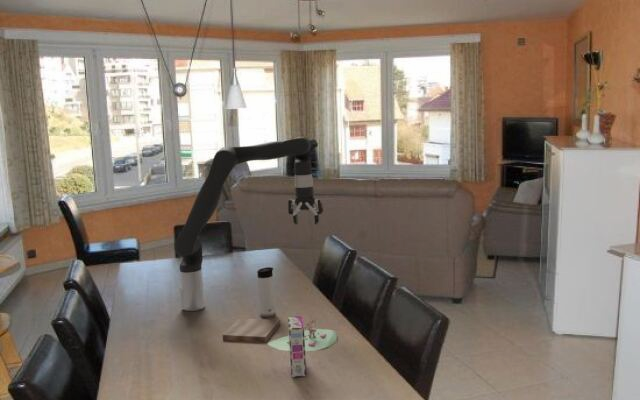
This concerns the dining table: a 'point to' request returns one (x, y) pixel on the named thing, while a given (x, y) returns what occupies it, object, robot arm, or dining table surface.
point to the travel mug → (266, 292)
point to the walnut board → (251, 330)
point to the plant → (309, 339)
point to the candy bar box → (297, 346)
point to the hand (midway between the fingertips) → (306, 224)
